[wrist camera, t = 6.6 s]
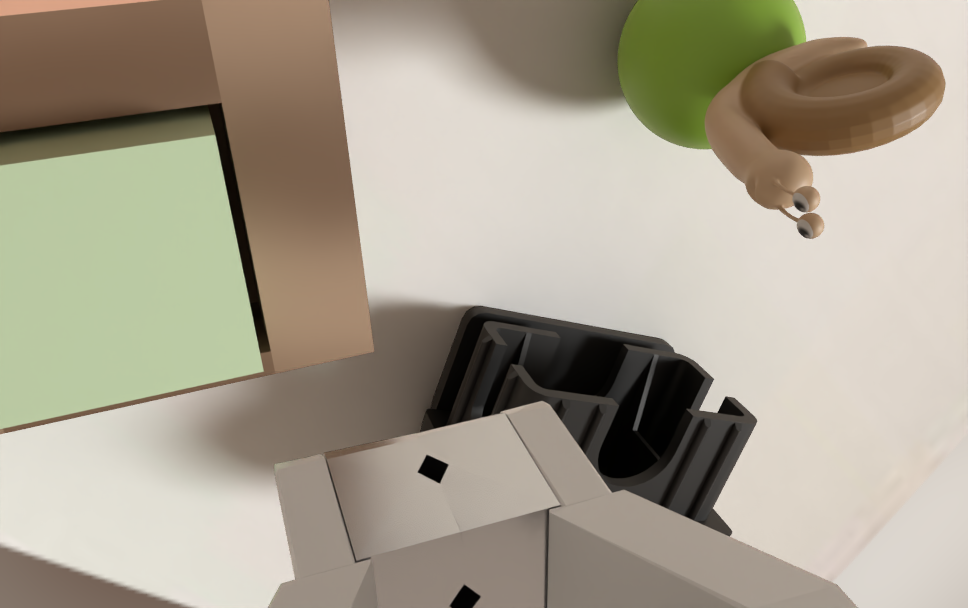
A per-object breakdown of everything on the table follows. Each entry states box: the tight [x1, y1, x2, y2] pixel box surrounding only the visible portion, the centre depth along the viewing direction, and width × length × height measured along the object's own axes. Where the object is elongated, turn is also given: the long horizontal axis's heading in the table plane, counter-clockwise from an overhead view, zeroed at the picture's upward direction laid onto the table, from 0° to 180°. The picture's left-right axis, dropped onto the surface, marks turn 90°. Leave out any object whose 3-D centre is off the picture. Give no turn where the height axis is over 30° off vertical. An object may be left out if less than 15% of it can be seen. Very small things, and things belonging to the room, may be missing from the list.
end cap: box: [420, 306, 757, 537], centre depth 30 cm, size 10×7×7 cm
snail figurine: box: [617, 0, 945, 239], centre depth 23 cm, size 5×6×12 cm
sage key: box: [0, 105, 264, 429], centre depth 21 cm, size 6×6×4 cm
